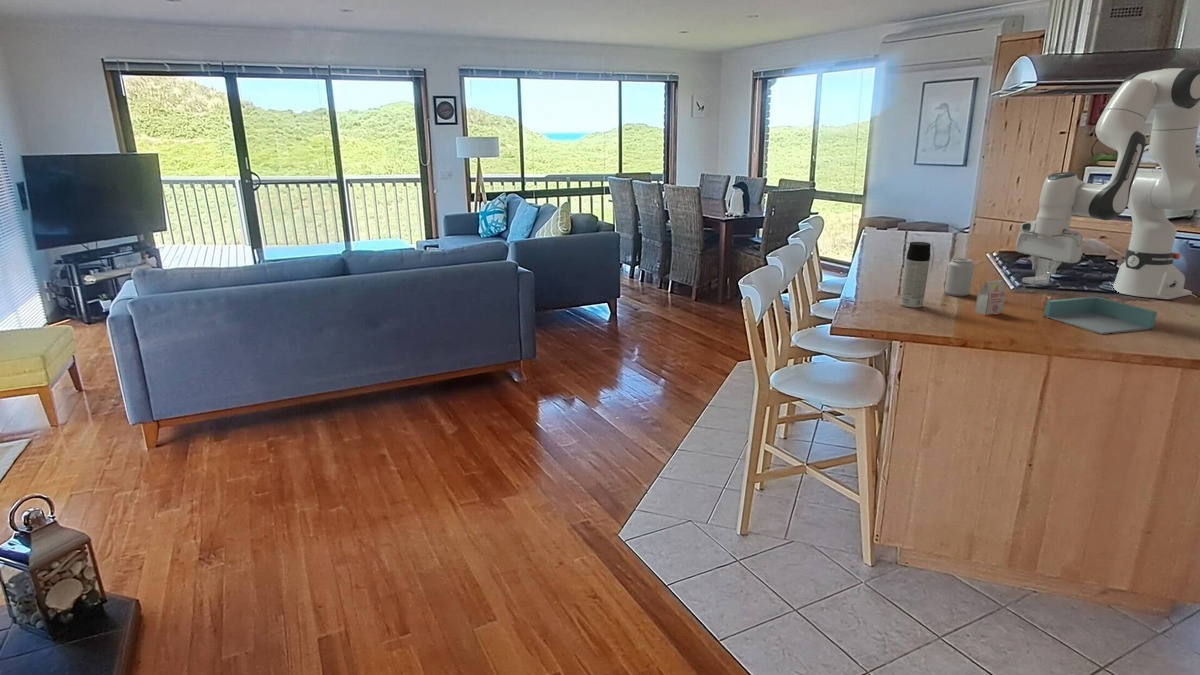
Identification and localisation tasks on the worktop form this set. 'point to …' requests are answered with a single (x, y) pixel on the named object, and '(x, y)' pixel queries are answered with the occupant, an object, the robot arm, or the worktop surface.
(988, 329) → the worktop surface
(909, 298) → the spray can
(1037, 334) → the worktop surface
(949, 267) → the can
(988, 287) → the milk carton
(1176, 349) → the worktop surface
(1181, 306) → the worktop surface
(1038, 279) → the bracket
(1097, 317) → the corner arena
